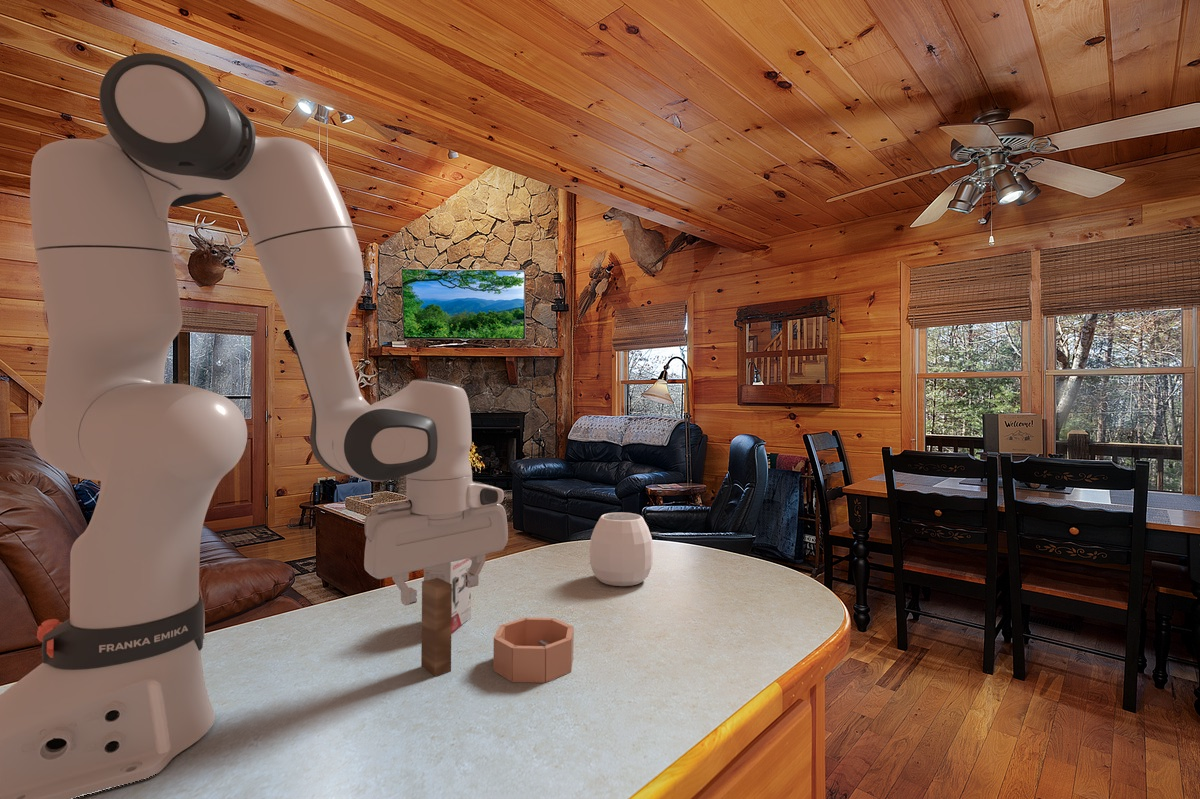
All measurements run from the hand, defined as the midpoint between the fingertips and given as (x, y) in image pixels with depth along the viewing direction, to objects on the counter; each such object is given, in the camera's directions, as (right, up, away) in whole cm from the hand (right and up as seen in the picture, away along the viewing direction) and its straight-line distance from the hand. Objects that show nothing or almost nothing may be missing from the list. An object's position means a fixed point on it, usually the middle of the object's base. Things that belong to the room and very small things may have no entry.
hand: (441, 594), depth 81 cm
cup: (+27, -11, +39) cm, 49 cm away
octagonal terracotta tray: (+13, -10, +1) cm, 17 cm away
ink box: (-3, -11, +15) cm, 19 cm away
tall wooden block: (-1, -10, 0) cm, 10 cm away
